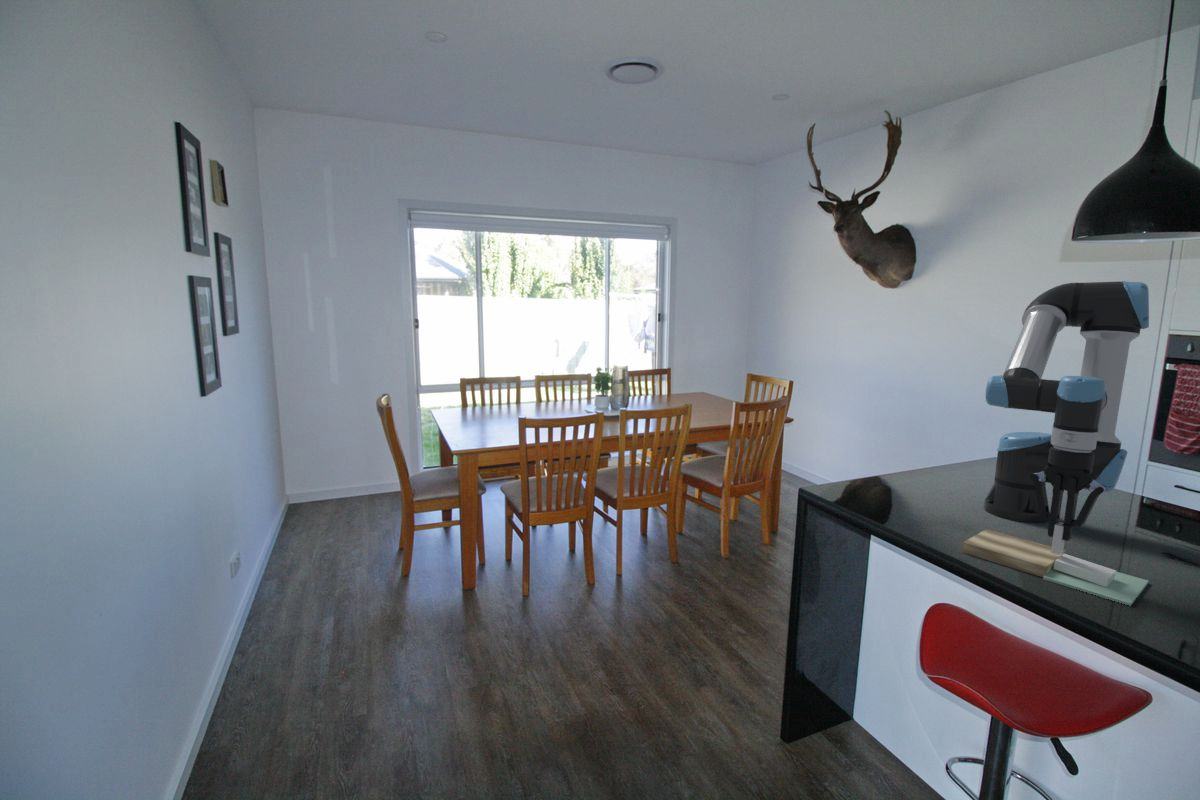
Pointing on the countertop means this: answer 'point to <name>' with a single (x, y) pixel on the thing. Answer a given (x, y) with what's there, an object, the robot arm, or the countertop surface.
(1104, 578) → the white rectangular block
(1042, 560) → the wooden board
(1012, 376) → the robot arm
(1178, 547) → the countertop surface
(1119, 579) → the mat
